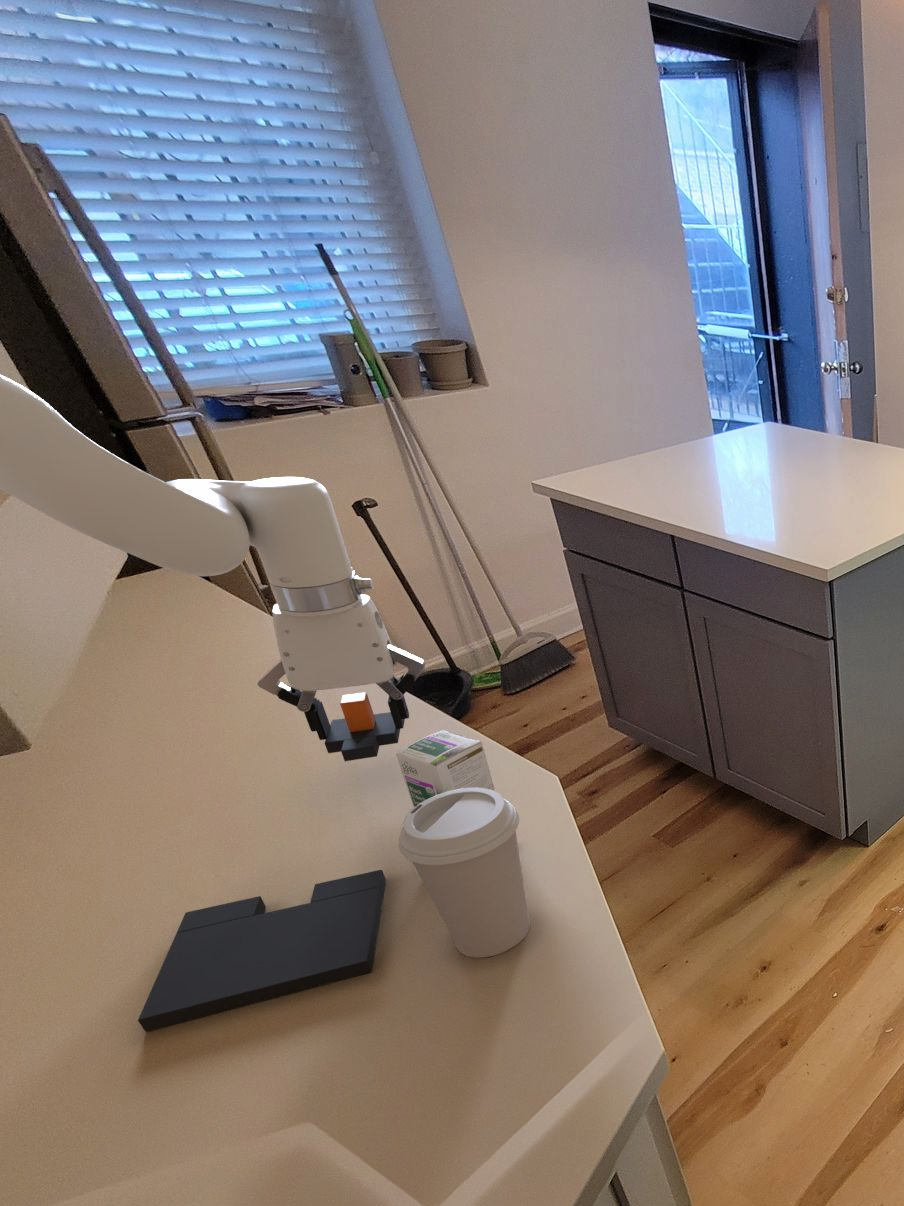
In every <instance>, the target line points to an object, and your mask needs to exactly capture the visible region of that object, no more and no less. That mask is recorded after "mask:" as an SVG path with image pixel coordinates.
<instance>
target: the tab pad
mask: <svg viewBox="0 0 904 1206" xmlns="http://www.w3.org/2000/svg"><path fill="white" fill-rule="evenodd" d="M339 705H340V708H341V711H342V714H343V716H344V718H337V719H332V720H331V722H330V728H329V731H328V734H327V737H326V739H325V740H324V746H325V749H326V751H327V754H333V753H334V754H335V753H339V752H340V753H341V756H342V758H343V760H344V762H349V761H350V762H351V761H355V760H356V761H357V760H363V759H370V758H375V757H378V754H379V750H380V747H381V746H389V745H393V744H398V743H399V740H400V733H401V729H398V728H396V727H395V724H394V721H393V718H392V715H391V711H389V712H381V713H374V711H373V708H372V705H371V701H370V699H369V696H368V693H367V691H364V692H355V693H347V694H342V696H341V698H340V703H339Z"/></svg>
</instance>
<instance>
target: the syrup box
mask: <svg viewBox="0 0 904 1206" xmlns="http://www.w3.org/2000/svg"><path fill="white" fill-rule="evenodd" d="M395 756H396V757H397V761H398V764H399V767H400V770H401V773H402V776H403V779H404V782H405V785H406V788H407V791H408V794H409V797H410V800H411V803H412V806H413V808H414V807H415V806H417V805H418V804H420V803H421V802H423V801H425V800H427V799H429V798H431V797H433V796H435V795H438V794H441V793H444V792H447V791H451V790H456V789H462V788H485V789H490V790H493V791H495V792H496V790H495V786H494V785H495V784H494V781H493V778H492V775H491V770H490V767H489V764H488V763H489V762H488V760H487V756H486V752H485V748H484V744H483V741H482V740H479V739H474V738H470V737H467V736H464V735H461V734H458V733H454V732H452V731H448V730H445V729H442V730H438V731H436V732H434V733H431V734H428V735H426V736H424V737H422V738H419V739H418V740H415V741H414V742H412V743H410V744H408V745H407V746H405V747H403V748H401V749H400V750H399V751H397V752H396V753H395Z"/></svg>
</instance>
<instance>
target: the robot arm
mask: <svg viewBox="0 0 904 1206" xmlns="http://www.w3.org/2000/svg"><path fill="white" fill-rule="evenodd" d="M0 490H1V491H3V492H5V493H6V494H7V495H8V494H9V495H10V496H12V497H13V498H16V499H17V500H19V501H21V502H22V503H25V504H26V505H28V506H30V507H32V508H34V509H35V510H37V511H39V512H41V513H43V514H44V515H46V516H48V517H50V518H51V519H53V520H55V521H57V522H59V523H61V524H63V525H65V526H66V527H69V528H71V529H73V530H75V531H77V532H79V533H81V534H83V535H85V536H87V537H90V538H91V539H94V540H96V541H98V542H101V543H103V544H105V545H108V546H110V547H111V548H115V549H117V550H120V551H122V552H124V553H127V554H128V555H132V556H134V557H136V558H138V559H141V560H144V561H146V562H148V563H150V564H152V565H155V566H157V567H160V568H163V569H165V570H169V571H171V572H175V573H178V574H183V575H187V576H195V577H214V576H215V577H216V576H219V575H224V574H226V573H229V572H231V571H233V570H235V569H236V568H238V567H240V565H241V564H242V563H243V562H244V561H245V559H246V558H247V556H248V554H249V550H250V546H251V547H254V548H255V549H256V551H257V553H258V556H259V559H260V561H261V564H262V566H263V570H264V572H265V574H266V578H267V580H268V582H269V585H270V586H269V587H270V588H271V592H272V593H273V597H274V599H275V602H276V603H275V604H274V605H273V606H272V621H273V622H272V623H273V628H274V635H275V640H276V644H277V648H278V652H279V656H280V659H279V660H278V661H277V662H276V663H275V664H273V665H272V666H271V668H269V669H268V670H267V671H266V672H264V674H262V676H260V678H259V679H258V682H257V686H258V687H259V688H260V689H261V690H264V691H265V692H268V693H269V694H271V695H275V696H276V697H277V698H278V699H279V700H281V701H283V702H285V703H287V704H290V705H292V706H294V707H296V709H297V710H298V711H299V712H303V714H304V716H305V718H306V721H307V725H308V727H309V729H310V731H311V733H312V732H316V734H317V737H318V739H319V741H325V740H326V737H327V734H328V731H329V728H330V725H331V722H330V720H329V718H328V716H327V712H326V709H325V707H324V704H323V701H320V699H318V698H317V697H316V694H317V691H326V690H333V689H335V690H336V689H343V688H350V687H360V686H366V685H374V684H376V685H377V686H378V687H379V688H380V689H381V690H382V691H384V693H386V694H387V695H388V699H387V706H388V709H389V712H391V715H392V718H393V721H394V724H395V727H396V728H398V729H400V730H402V729H404V728H405V727H404V726H405V721H406V720H407V719H409V718H410V712H409V709H408V705H407V702H406V698H405V694H406V693H407V692H408V690H410V688H411V687H412V686H413V685H414V684H415V681H416V680H417V679H418V678H419V676H420V675H421V673H422V672H423V670H424V669H425V667H426V661H425V660H424V659H423V658H420V657H418V656H416V655H414V654H411V653H409V652H408V651H406V650H403V649H401V648H398V647H397V646H394V645H393V644H392V641H391V638H390V636H389V634H388V630H387V629H386V626H385V623H384V622H383V619H382V617H381V615H380V612H379V611H378V608H377V607H376V605H375V603H374V601H373V600H372V598H371V597H370V596H369V595H368V594H363V593H366V592H367V591H374V588H375V587H374V582H373V580H372V578H363V577H359V575H357V573H356V571H355V570H353V566H352V564H351V560H350V557H349V554H348V550H347V547H346V544H345V540H344V537H343V535H342V531H341V528H340V525H339V524H340V523H339V521H338V519H337V518H338V517H337V515H336V512H335V509H334V505H333V502H332V499H331V496H330V494H329V491H328V490H327V488H326V487H325V486H324V485H323V484H322V483H321V482H319V481H317V480H315V479H311V478H306V477H300V476H278V477H277V476H276V477H267V478H260V479H256V480H252V481H249V480H248V481H247V480H246V481H240V480H239V481H238V480H218V479H217V480H216V479H202V478H201V479H200V478H181V479H173V480H169V481H166V482H165V481H164V480H162V479H160V478H158V477H156V476H155V475H152V474H150V473H148V472H147V471H144V470H142V469H140V468H138V467H137V466H134V465H133V464H131V463H129V462H127V461H126V460H124V459H122V458H120V457H118V456H117V455H115V454H114V453H111V451H109V450H107V449H105V448H104V447H102V446H100V445H99V444H97V443H96V442H95V441H93V440H91V439H90V438H89V437H87V436H86V435H84V433H82V432H81V431H79V430H78V429H77V428H76V427H74V426H73V425H72V424H71V423H70V422H68V421H67V420H66V419H65V418H64V417H63V416H62V415H61V414H60V413H59V412H58V411H57V410H55V408H54V407H52V406H51V405H50V404H49V403H48V402H46V400H44V398H43V399H42V397H40V396H39V395H37V394H36V393H34V392H33V391H31V390H30V389H28V388H27V387H25V386H23V385H22V384H20V383H18V382H15V381H14V380H12V379H10V378H8V377H7V376H4V375H2V374H0ZM398 664H399V665H403V666H405V667H407V669H406V671H405V672H403V674H402V675H401V676H400V677H399V678H398V677H397V676H396V675H395V672H394V667H395V666H397V665H398ZM284 676H286V679H287V681H288V683H289V684H290V685H289V684H284V682H283V681H281V680H280V679H281V678H282V677H284Z"/></svg>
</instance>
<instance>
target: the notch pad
mask: <svg viewBox="0 0 904 1206" xmlns="http://www.w3.org/2000/svg"><path fill="white" fill-rule="evenodd" d="M386 884H387V879H386V875H385V873H384V870H383V869H378V870H374V871H373V870H372V871H369V872H364V873H359V874H355V875H350V876H347V877H346V876H345V877H341V878H337V879H331V880H327V881H323V882H319V883H315V884H314V887H313V890H312V894H311V897H310V898H311V899H310V901H309V902H308V903H302V904H298V905H294V906H290V907H285V908H281V909H277V910H273V911H268V912H265V911H266V908H267V906H266V903H265V902H264V900H263V898H262V896H261V895H258V896H254V897H249V898H245V899H241V900H236V901H232V902H227V903H221V904H217V905H214V906H209V907H205V908H200V909H194V910H190V911H186V912H184V915H183V918H182V919H181V922H180V923H179V926H178V928H177V931H176V933H175V936H174V937H173V940H172V941H171V945H170V947H169V949H168V951H167V954H166V956H165V958H164V960H163V963H162V965H161V967H160V970H159V972H158V973H157V976H156V978H155V981H154V983H153V985H152V987H151V990H150V992H149V994H148V996H147V999H146V1001H145V1003H144V1006H143V1008H142V1010H141V1012H140V1014H139V1017H138V1019H137V1022H138V1023H139V1025H140V1026H141V1028H142V1029H143V1030H144V1032H146V1033H147V1032H151V1031H154V1030H158V1029H162V1028H166V1027H170V1026H173V1025H177V1024H180V1023H186V1022H188V1021H192V1020H196V1019H200V1018H203V1017H208V1016H211V1015H215V1014H218V1013H219V1014H220V1013H223V1012H227V1011H230V1010H234V1009H237V1008H242V1007H246V1006H249V1005H253V1004H257V1003H260V1002H264V1001H267V1000H272V999H276V998H279V997H282V996H287V995H291V994H295V993H297V992H302V991H305V990H310V989H313V988H317V987H321V986H324V985H328V984H329V985H330V984H333V983H336V982H339V981H343V980H347V979H350V978H354V977H359V976H363V975H366V974H370V973H373V967H374V961H375V955H376V948H377V942H378V935H379V929H380V922H381V917H382V916H381V915H382V909H383V902H384V897H385V891H386Z"/></svg>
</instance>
